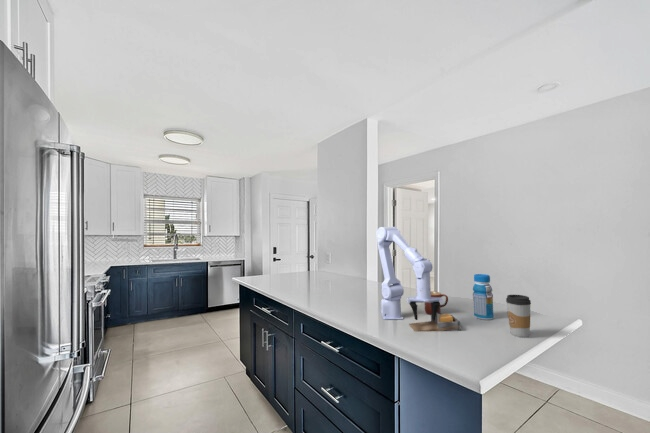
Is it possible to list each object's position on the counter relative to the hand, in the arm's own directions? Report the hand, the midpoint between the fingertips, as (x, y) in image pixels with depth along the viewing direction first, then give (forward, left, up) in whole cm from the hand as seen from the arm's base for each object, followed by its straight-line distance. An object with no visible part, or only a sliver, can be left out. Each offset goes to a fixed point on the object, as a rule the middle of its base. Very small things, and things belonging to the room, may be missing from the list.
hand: (424, 319), depth 128 cm
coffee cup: (+34, -10, -4) cm, 36 cm away
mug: (+11, +20, -4) cm, 23 cm away
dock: (+4, 0, -4) cm, 6 cm away
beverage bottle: (+31, +13, -4) cm, 34 cm away
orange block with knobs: (+8, 0, -2) cm, 9 cm away
